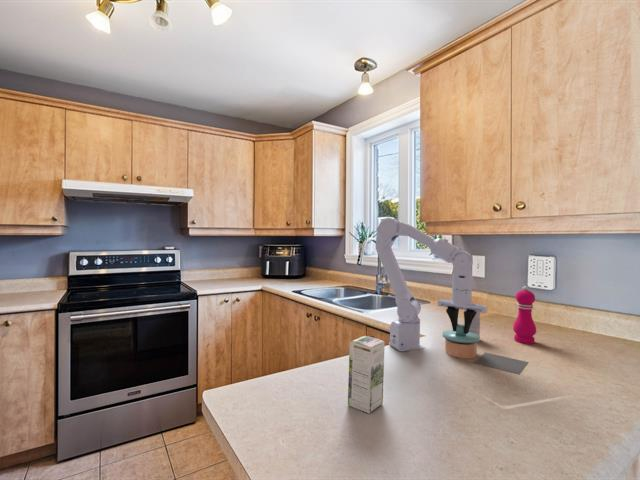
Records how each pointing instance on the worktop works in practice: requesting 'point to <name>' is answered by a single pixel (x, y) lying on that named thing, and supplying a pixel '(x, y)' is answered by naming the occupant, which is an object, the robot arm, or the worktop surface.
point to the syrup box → (366, 373)
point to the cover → (461, 335)
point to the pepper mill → (524, 317)
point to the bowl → (460, 349)
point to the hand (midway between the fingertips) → (460, 331)
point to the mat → (501, 363)
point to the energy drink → (475, 324)
